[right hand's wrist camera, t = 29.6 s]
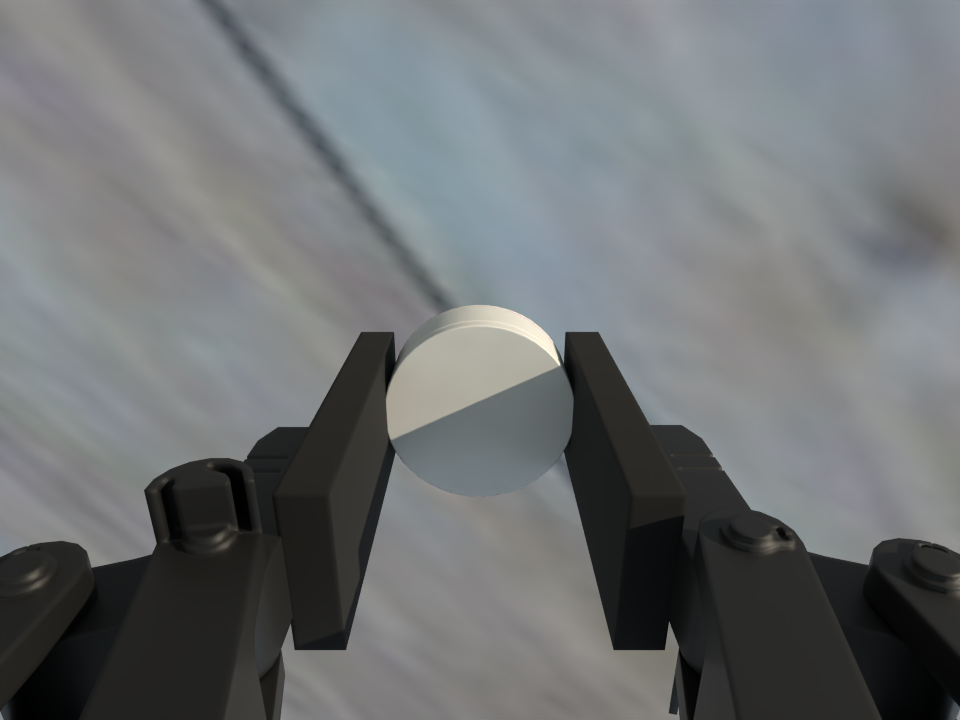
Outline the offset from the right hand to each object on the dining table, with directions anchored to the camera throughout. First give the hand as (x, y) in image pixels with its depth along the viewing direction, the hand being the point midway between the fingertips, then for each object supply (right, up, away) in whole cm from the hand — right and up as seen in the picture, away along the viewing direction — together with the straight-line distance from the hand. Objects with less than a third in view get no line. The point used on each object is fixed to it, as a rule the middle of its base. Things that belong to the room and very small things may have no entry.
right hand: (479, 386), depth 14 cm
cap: (0, 0, -1) cm, 1 cm away
